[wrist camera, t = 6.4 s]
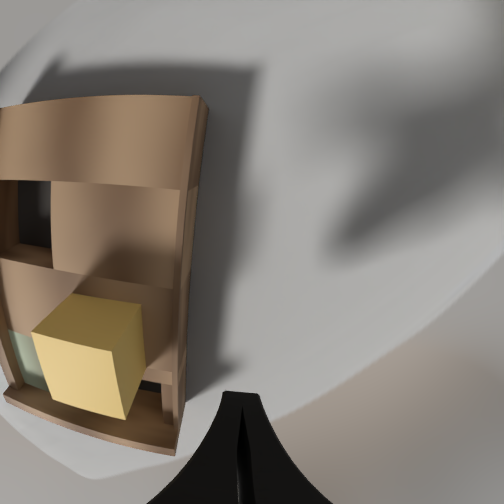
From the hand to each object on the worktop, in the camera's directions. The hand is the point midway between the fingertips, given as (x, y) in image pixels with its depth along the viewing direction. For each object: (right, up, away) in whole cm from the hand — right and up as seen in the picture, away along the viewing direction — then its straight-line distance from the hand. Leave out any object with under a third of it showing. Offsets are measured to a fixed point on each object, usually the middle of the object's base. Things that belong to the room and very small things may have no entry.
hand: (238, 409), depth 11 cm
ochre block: (-7, +2, +3) cm, 8 cm away
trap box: (-9, +5, +5) cm, 12 cm away
